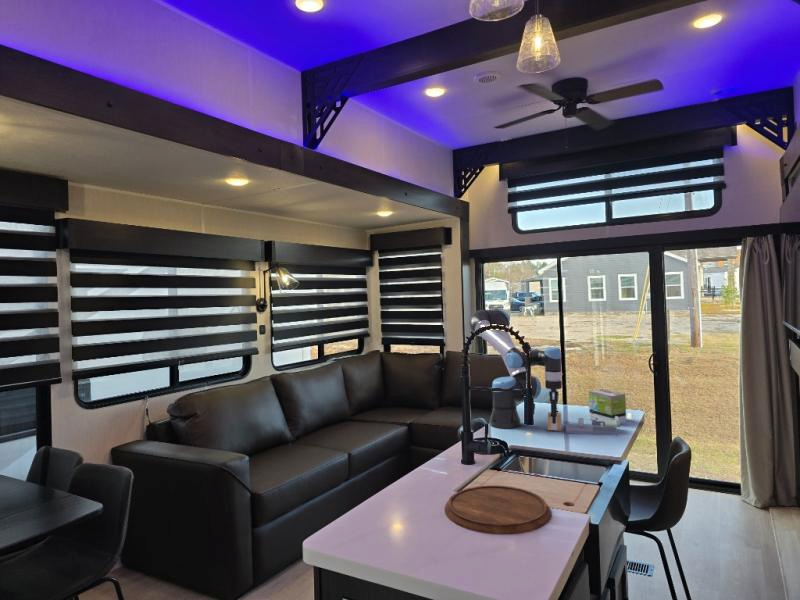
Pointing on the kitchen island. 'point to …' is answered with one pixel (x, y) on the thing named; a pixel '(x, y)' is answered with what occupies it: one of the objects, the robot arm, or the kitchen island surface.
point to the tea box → (607, 405)
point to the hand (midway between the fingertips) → (554, 427)
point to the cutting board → (497, 510)
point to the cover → (612, 422)
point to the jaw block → (557, 421)
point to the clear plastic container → (590, 428)
